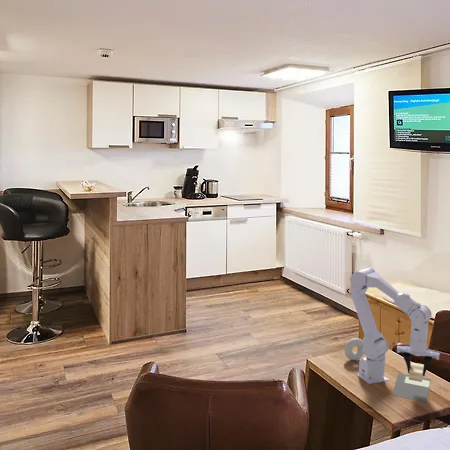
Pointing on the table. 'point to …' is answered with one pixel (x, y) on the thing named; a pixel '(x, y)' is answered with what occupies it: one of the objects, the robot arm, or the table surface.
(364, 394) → the table surface
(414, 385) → the mat
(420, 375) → the beige wooden block
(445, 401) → the table surface
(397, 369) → the table surface
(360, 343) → the donut
